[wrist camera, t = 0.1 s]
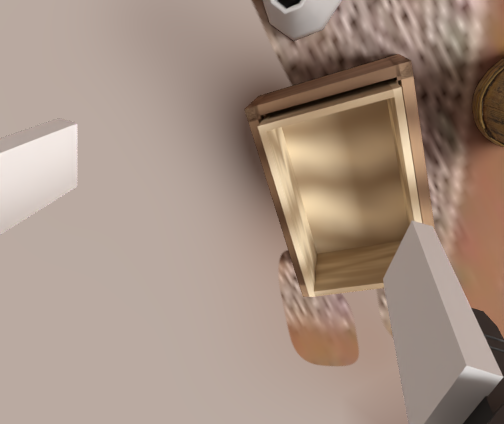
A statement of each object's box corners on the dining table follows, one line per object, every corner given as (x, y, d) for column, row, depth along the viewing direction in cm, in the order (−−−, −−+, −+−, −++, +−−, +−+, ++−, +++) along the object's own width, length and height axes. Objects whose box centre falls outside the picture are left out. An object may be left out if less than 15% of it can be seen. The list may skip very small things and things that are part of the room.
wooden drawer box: (258, 95, 40) (244, 109, 34) (398, 54, 36) (411, 60, 30) (307, 261, 48) (302, 296, 42) (427, 243, 44) (441, 279, 37)
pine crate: (271, 107, 39) (257, 126, 32) (388, 74, 36) (401, 87, 29) (313, 255, 46) (309, 297, 39) (415, 239, 43) (431, 282, 36)
